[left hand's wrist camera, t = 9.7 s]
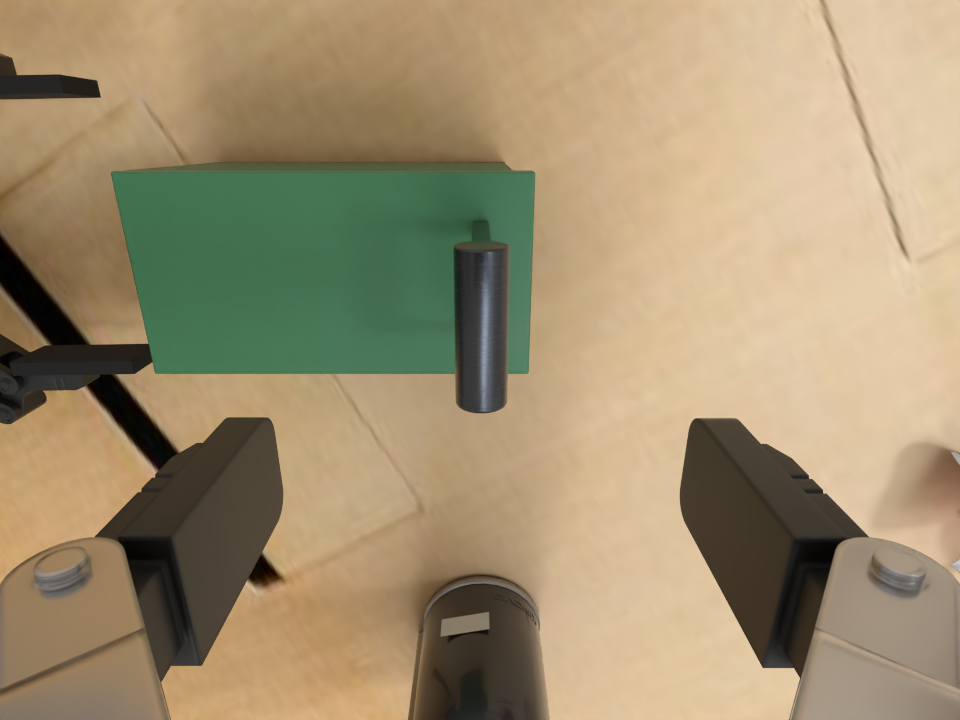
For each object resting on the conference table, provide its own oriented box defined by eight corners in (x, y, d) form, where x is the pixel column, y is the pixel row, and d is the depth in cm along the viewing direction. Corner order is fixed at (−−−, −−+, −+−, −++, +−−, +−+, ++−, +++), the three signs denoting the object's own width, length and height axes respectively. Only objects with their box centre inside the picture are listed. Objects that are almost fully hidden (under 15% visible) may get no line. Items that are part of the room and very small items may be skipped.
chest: (504, 162, 34) (513, 170, 25) (502, 311, 37) (509, 366, 28) (219, 162, 34) (124, 170, 25) (242, 311, 37) (166, 366, 28)
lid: (533, 170, 25) (560, 186, 16) (526, 366, 28) (547, 462, 20) (124, 170, 25) (-58, 186, 16) (165, 366, 28) (32, 462, 20)
